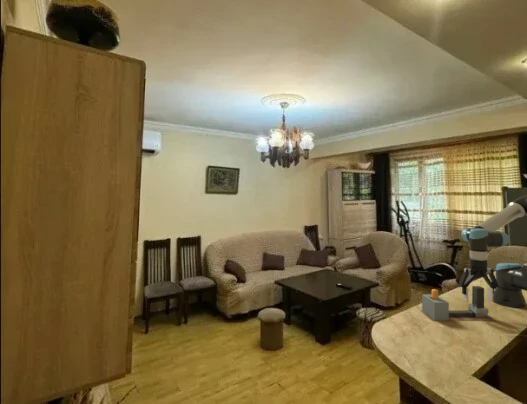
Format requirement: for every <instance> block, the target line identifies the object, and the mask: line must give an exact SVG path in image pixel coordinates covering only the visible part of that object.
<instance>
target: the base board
mask: <svg viewBox="0 0 527 404" xmlns="http://www.w3.org/2000/svg"><path fill="white" fill-rule="evenodd" d="M420 312H421V313H422V314H423V315H425V316H426V317H427V318H428V319H430V320H431V321H433V322H450V321H451V322H475V321H476V322H487V321H488V322H491V321H492V322H495V321H497V320H496V319H495V318H492V317H491V316H489V315H488V317H449V320H433V319H432V318H431V317H429V316H428V315H427V314H426V313H424V312H423V311H422V310H420Z"/></svg>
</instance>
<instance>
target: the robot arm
mask: <svg viewBox="0 0 527 404" xmlns="http://www.w3.org/2000/svg"><path fill="white" fill-rule="evenodd" d="M525 216H527V194H526V195H522V196H520V197H518V198H516V199H515V200H513V201H511V202H509V203H508V204H507V205H506V207H505V208H503V209H502V210H500V211H498V212H496V213H495V214H493V215H491V216H490V217H489V218H487V219H485V220H483V221H482V222H480V223H478V224H477V225H475V226H474V227H472V228H464V229H462V231H461V233H460V235H461V239H462V240H463V241H465V242H468V243H469V268H466V267H463V270H462V275H461V276H460V279H459V281H458V284H457V286H458V287H460V288H461V294H462V295H463V300H464V301H466V302H469V288H468V287H469V286H470V284H471V283H472V282H473V280H475V279H476V278H483V280H484V281H485V282H486V284H487V285H488V287H487V300H488V301H490V302H494V303H496V304H497V305H502V306H505V307H511V308H525V307H526V306H527V303H526V298H525V297H524V293H523V291H526V292H527V262H525V263H523V264H521V263H516V262H515V263H514V262H499V263H497V264H496V268H495V271H494V269H493V268H490V267H488V258H489V257H488V256H489V255H488V251H489V250H488V248H495V247H499V248H500V247H505V246H507V245H508V244H509V242H510V237H509V235H508V234H507V233H506V232H504V231H498V230H499V229H501V228H503V227H505V226H506V225H508V224H510V223H511V222H513V221H514V220H516V219H517V218H523V217H525ZM494 272H495V274H494ZM487 274H488V275H487ZM524 306H525V307H524Z"/></svg>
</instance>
